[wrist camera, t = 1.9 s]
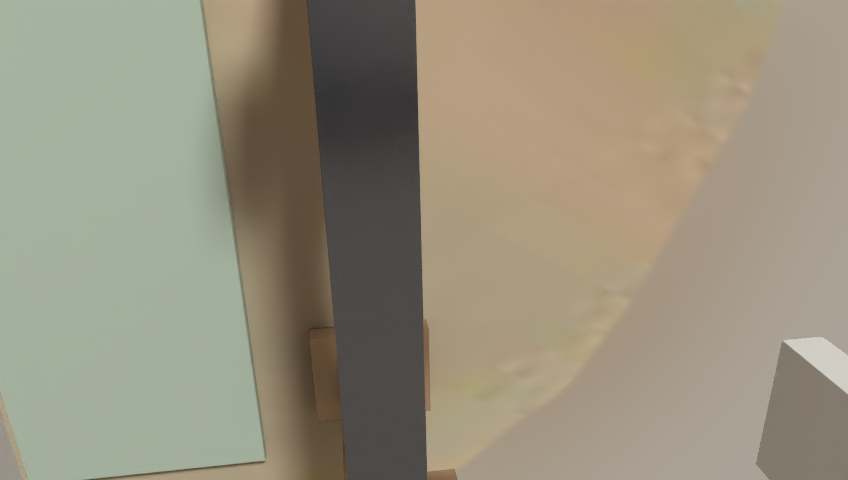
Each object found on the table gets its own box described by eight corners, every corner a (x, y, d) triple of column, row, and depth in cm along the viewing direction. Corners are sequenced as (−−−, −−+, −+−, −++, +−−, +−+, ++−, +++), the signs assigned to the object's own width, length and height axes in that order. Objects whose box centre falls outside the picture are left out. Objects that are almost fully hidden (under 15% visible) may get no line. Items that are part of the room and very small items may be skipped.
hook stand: (317, 410, 35) (310, 660, 22) (252, -236, 24) (164, -470, 11) (427, 399, 36) (481, 636, 23) (413, -234, 25) (501, -453, 12)
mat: (35, 477, 35) (30, 485, 34) (-220, -333, 22) (-235, -341, 21) (266, 453, 36) (265, 460, 35) (156, -322, 23) (152, -330, 22)
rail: (358, 588, 26) (361, 649, 23) (276, -410, 14) (266, -484, 12) (421, 580, 26) (430, 639, 24) (391, -406, 14) (403, -477, 12)
